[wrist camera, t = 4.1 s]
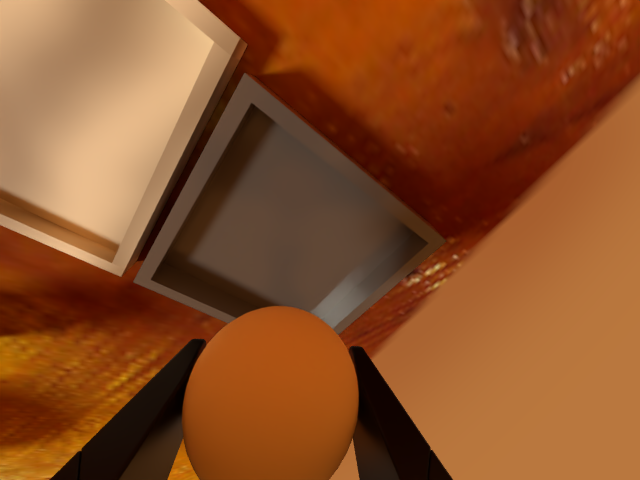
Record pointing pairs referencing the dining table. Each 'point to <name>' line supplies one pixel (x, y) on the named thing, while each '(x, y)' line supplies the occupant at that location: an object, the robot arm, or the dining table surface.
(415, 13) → the dining table surface
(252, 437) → the ball
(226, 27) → the tray
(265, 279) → the dish
